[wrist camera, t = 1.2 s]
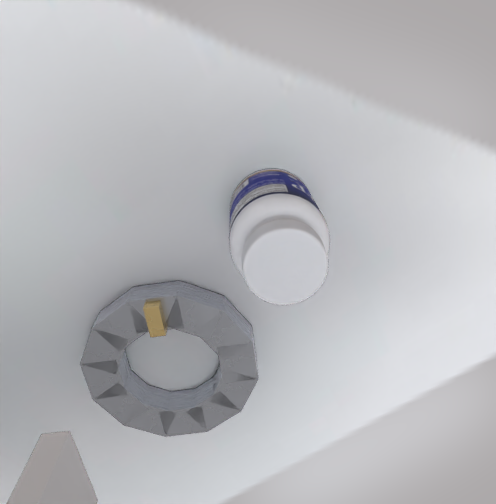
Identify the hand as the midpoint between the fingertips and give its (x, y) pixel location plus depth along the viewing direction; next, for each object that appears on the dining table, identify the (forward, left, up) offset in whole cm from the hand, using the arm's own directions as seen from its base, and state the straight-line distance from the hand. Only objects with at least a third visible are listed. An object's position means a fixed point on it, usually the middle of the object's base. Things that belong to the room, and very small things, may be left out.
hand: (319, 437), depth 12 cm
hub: (-8, -10, -18) cm, 22 cm away
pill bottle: (0, 0, -18) cm, 18 cm away
